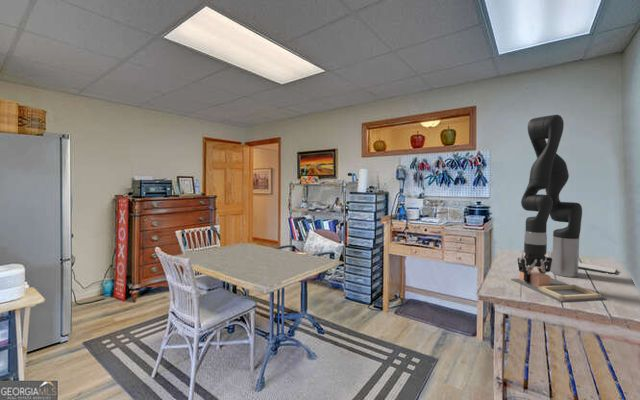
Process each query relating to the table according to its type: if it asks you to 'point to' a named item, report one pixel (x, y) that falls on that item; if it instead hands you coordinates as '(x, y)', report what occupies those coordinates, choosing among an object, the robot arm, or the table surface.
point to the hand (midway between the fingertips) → (534, 281)
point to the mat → (563, 291)
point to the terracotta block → (536, 278)
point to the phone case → (596, 268)
